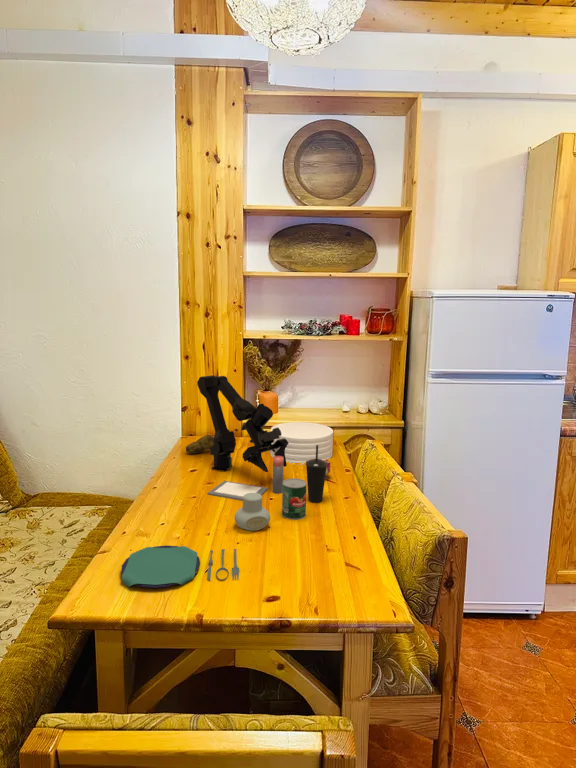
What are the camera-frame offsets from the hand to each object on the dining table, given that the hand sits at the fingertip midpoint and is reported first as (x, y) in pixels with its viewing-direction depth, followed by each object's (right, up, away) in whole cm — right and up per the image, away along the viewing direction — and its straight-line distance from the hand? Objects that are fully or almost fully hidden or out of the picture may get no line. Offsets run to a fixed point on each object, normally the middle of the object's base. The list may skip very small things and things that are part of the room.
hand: (276, 469), depth 183 cm
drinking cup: (+14, -10, -6) cm, 18 cm away
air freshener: (-7, -14, -27) cm, 31 cm away
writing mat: (-14, -8, 0) cm, 16 cm away
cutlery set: (-24, -18, -51) cm, 59 cm away
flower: (+16, -6, +15) cm, 23 cm away
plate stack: (+10, -1, +45) cm, 46 cm away
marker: (0, -8, +1) cm, 8 cm away
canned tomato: (+6, -12, -18) cm, 22 cm away
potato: (-35, 0, +43) cm, 56 cm away
